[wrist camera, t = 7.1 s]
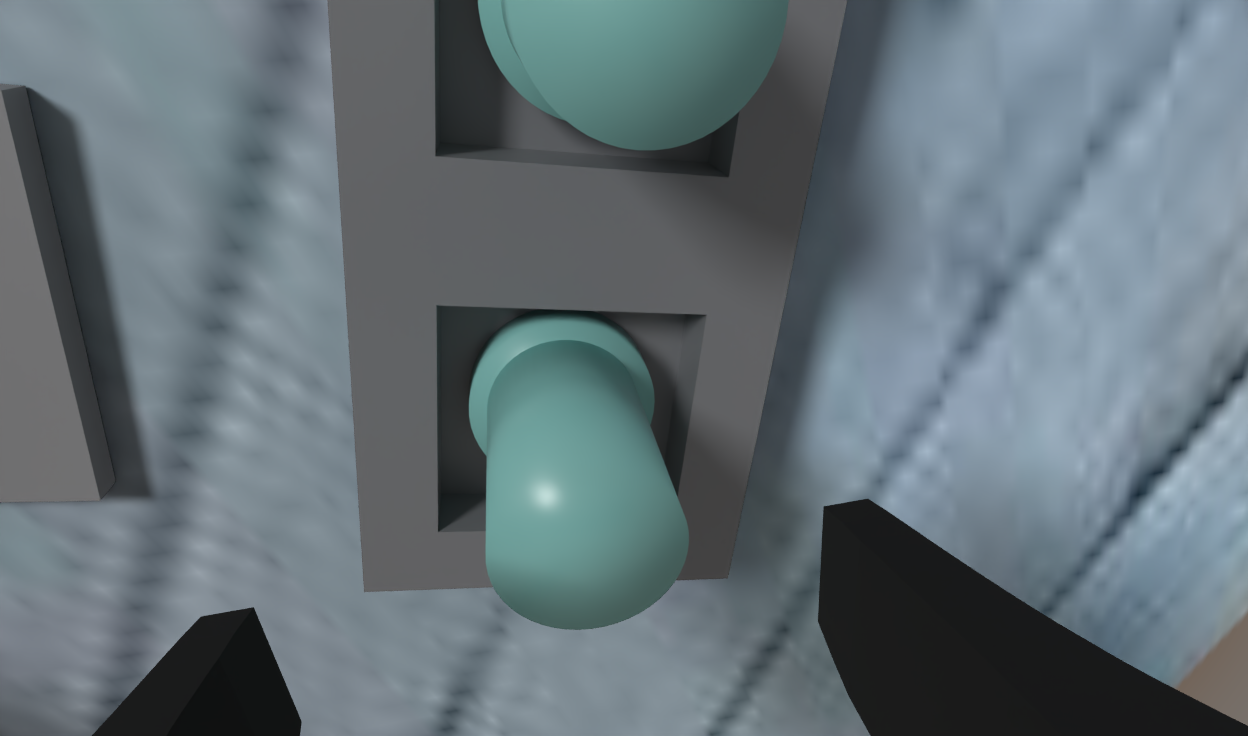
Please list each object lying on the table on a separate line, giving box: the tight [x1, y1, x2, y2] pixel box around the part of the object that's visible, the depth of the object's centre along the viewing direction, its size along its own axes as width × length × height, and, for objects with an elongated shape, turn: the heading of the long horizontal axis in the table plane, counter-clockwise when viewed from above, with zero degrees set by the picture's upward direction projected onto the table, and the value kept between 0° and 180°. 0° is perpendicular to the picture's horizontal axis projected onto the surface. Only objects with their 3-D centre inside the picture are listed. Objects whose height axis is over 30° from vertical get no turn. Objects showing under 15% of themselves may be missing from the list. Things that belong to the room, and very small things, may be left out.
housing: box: [328, 0, 847, 592], centre depth 16 cm, size 9×17×2 cm, turn 174°
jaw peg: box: [469, 309, 689, 630], centre depth 15 cm, size 4×4×6 cm
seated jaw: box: [478, 0, 789, 150], centre depth 12 cm, size 4×4×6 cm
